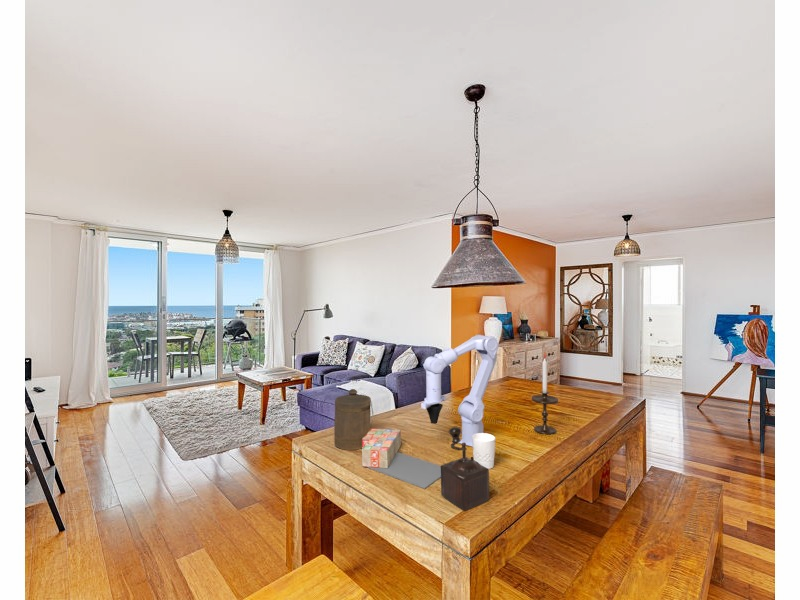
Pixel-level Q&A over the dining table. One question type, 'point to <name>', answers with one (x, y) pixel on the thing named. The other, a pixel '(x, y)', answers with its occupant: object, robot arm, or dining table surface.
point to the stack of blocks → (380, 447)
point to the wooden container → (351, 420)
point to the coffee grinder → (464, 478)
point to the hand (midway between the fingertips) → (434, 423)
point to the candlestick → (544, 403)
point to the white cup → (484, 449)
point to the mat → (412, 470)
